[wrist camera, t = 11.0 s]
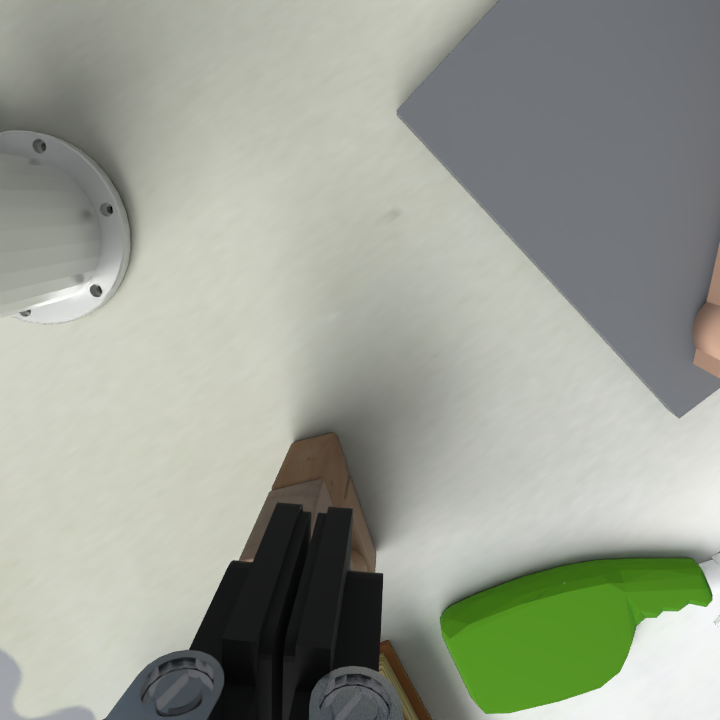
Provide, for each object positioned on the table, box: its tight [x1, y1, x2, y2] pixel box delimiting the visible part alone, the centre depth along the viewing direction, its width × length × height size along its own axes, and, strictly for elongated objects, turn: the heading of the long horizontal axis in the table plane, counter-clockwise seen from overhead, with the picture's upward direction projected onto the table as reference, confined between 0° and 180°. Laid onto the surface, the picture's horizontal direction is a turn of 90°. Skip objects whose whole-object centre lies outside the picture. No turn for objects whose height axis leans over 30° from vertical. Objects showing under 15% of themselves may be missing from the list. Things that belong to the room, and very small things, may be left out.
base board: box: [397, 0, 720, 418], centre depth 33 cm, size 27×20×2 cm
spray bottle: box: [440, 553, 720, 714], centre depth 42 cm, size 3×11×24 cm
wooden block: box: [239, 433, 376, 573], centre depth 34 cm, size 4×11×18 cm, turn 17°
